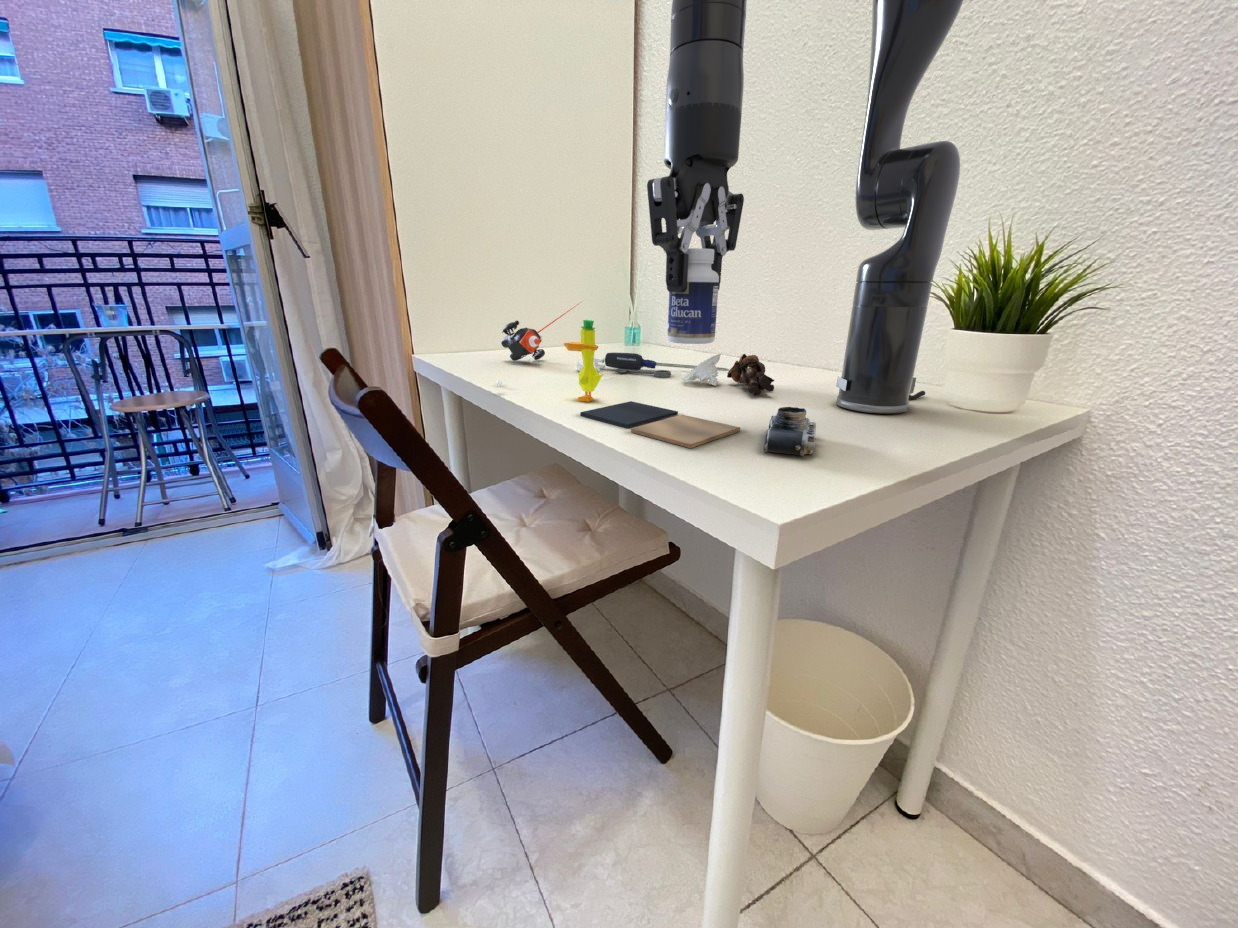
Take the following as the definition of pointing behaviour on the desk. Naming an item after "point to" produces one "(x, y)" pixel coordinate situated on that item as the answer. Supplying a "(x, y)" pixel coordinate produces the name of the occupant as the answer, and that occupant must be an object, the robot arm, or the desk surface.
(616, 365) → the screwdriver
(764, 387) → the figurine
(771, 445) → the camera
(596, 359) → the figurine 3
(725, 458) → the desk surface
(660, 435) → the copper plate
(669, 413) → the rubber mat
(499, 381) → the sphere
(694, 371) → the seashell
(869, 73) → the robot arm
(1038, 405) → the desk surface
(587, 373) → the toy figure
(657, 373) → the key
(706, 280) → the pill bottle
